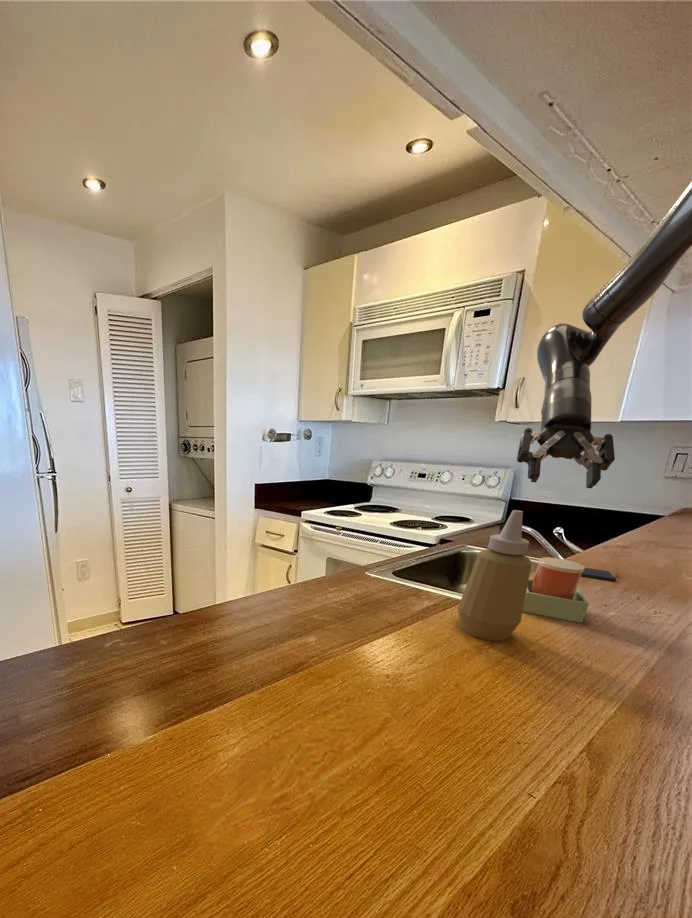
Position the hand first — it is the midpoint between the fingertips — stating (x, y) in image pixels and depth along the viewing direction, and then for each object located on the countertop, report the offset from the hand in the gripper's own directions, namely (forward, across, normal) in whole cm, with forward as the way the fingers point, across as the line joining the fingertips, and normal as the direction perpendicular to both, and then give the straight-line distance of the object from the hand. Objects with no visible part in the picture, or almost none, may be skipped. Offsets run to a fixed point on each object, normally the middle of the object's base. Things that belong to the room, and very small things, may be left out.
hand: (563, 482), depth 81 cm
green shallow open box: (+22, 0, +6) cm, 23 cm away
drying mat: (0, +16, +27) cm, 32 cm away
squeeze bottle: (+33, -11, -5) cm, 35 cm away
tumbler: (+22, 0, +5) cm, 23 cm away
